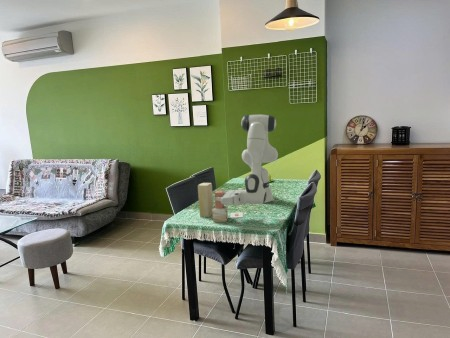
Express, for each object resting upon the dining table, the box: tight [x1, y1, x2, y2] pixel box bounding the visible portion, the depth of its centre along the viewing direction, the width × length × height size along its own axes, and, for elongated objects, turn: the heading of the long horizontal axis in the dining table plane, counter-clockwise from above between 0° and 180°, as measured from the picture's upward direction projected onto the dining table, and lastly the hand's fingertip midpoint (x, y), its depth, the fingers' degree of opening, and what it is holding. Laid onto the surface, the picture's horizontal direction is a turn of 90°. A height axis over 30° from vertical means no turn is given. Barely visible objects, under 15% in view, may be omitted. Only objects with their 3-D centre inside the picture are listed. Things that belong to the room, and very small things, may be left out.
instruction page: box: [229, 211, 244, 219], centre depth 219 cm, size 10×8×1 cm
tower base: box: [212, 205, 229, 223], centre depth 211 cm, size 8×8×8 cm
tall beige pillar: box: [197, 182, 214, 218], centre depth 220 cm, size 8×7×21 cm
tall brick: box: [213, 190, 225, 209], centre depth 209 cm, size 4×4×10 cm
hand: (217, 196), depth 209 cm, fingers open, 8 cm apart
